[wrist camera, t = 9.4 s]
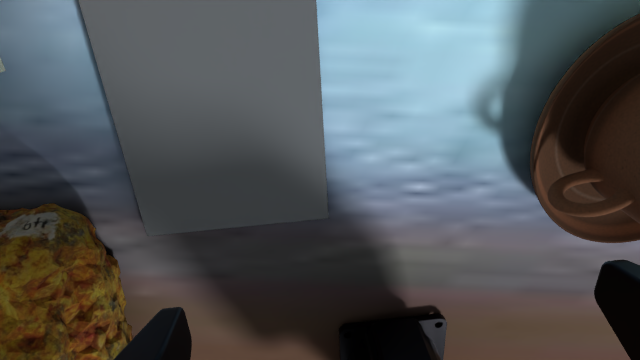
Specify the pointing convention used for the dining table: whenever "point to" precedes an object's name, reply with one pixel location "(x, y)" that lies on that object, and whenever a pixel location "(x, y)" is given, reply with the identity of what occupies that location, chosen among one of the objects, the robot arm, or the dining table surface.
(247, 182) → the grey rectangular panel
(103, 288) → the rock
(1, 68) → the board
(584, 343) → the dining table surface
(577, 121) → the cup and saucer
